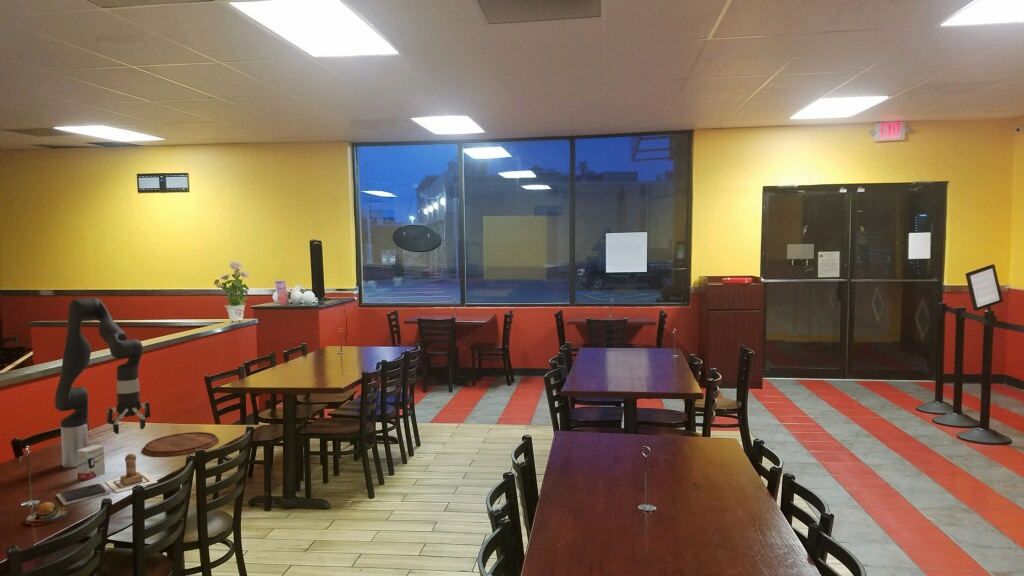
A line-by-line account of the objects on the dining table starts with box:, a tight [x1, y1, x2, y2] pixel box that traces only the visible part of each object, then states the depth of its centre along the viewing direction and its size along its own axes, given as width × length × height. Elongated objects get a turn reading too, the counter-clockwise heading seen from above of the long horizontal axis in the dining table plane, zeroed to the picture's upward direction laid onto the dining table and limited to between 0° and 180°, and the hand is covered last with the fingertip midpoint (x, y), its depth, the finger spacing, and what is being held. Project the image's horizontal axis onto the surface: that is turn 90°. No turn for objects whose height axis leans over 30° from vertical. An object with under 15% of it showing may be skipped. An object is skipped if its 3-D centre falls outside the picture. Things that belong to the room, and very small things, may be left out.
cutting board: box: [141, 431, 220, 458], centre depth 281 cm, size 32×32×2 cm
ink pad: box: [56, 483, 110, 506], centre depth 222 cm, size 12×14×1 cm
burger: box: [24, 501, 70, 527], centre depth 203 cm, size 12×12×8 cm
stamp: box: [119, 453, 143, 486], centre depth 235 cm, size 6×6×11 cm
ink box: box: [76, 444, 106, 481], centre depth 242 cm, size 9×5×12 cm, turn 168°
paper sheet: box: [104, 471, 159, 494], centre depth 235 cm, size 16×14×1 cm
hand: (129, 431), depth 234 cm, fingers open, 8 cm apart
